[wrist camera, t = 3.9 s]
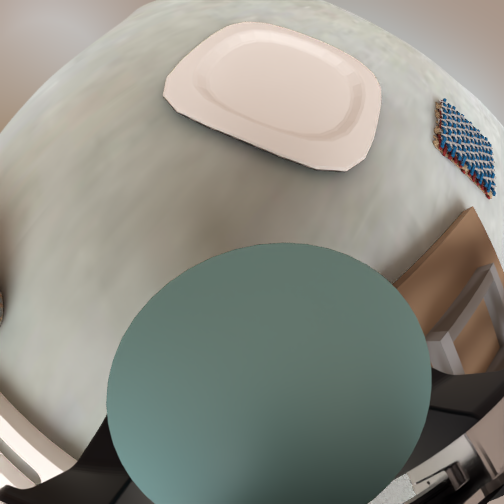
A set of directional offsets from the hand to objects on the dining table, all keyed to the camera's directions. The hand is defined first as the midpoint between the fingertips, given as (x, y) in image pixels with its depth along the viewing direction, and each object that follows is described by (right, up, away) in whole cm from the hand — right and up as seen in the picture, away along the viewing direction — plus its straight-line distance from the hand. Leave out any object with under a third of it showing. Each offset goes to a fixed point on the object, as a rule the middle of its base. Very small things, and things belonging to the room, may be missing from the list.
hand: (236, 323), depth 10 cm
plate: (+3, +18, +12) cm, 22 cm away
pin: (-1, -3, +6) cm, 7 cm away
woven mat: (+26, +15, +15) cm, 33 cm away
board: (+18, -6, +8) cm, 21 cm away
